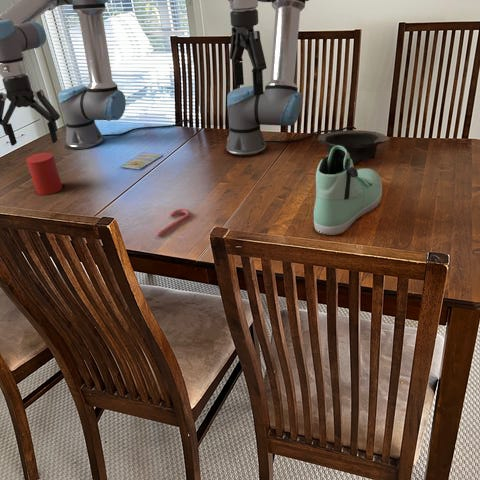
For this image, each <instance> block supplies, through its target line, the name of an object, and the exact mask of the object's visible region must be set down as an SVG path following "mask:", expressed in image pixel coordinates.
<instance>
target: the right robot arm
mask: <svg viewBox="0 0 480 480" xmlns="http://www.w3.org/2000/svg"><path fill="white" fill-rule="evenodd" d="M227 1H228V2H229V9H230V10H231V11H230V13H229V17H230V25H231V37H230V48H229V58H228V59H229V60H231V62H232V65H233V79H234V80H233V81H234V86H235V87H238V86H242V87H238V88H235V89H233V90H231V91H229V92H228V93H227V97H226V103H227V104H226V106H227V117H228V127H229V129H228V130H229V133H228V136H227V139H226V140H227V142H226V146H225V147H226V148H225V149H226V153H227V154H228V155H229V156H232V157H236V158H237V157H239V158H250V157H256V156H258V155H262V154H263V153H264V152H265V151H266V150H267V144H268V143H269V144H270V143H273V144H277V143H278V144H282V143H283V144H285V143H294V142H299V141H304V140H306V139H308V138H310V137H313V136H314V135H316V134H317V135H318V134H324V133H329V132H334V131H345V130H349V129H353V130H356V131H357V128H356V127H355V126H353V125H348V126H345V127H342V128H338V129H325V130H324V129H323V130H318V131H314V132H312V133H310V134H309V135H306V136H303V137H300V138H294V139H287V140H285V139H284V140H265V138H264V136H263V135H264V134H263V133H262V129H261V126H278V127H279V126H280V127H284V126H287V127H288V126H289V127H290V126H293V125H295V124H296V123H297V121H298V120H299V117H300V113H301V109H302V103H303V101H302V100H303V96H302V93H301V92H299V88H298V86H297V84H296V83H295V76H296V75H295V74H296V64H297V53H298V41H299V28H300V18H301V12H302V11H303V10H304V9H305V7H306V2H309V1H310V0H227ZM259 3H271V7H272V8H273V10H274V25H273V39H272V51H271V64H270V75H269V76H270V77H269V82H268V83H267V84H265V86H264V77H263V74H264V73H263V71H264V70H267V63H266V58H265V54H264V50H263V45H262V40H261V33H260V32H261V31H259V30H255V26H257V25H258V24H259V11H258V9H257V8H258V7H259ZM245 51H247V55H248V57H249V60H250V63H251V67H252V69H251V73H252V75H251V76H252V85H248V86H245V81H244V80H245V78H244V64H243V62H244V59H243V55H244V52H245Z"/></svg>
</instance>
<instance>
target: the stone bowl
mask: <svg viewBox="0 0 480 480" xmlns="http://www.w3.org/2000/svg"><path fill="white" fill-rule="evenodd" d="M389 140H390V137H388V136H387V135H385V134H383V133H381V132H377V131H373V130H372V131H371V130H357V129H356V130H355V129H353V130H350V129H345V130H342V131H334V132H324V133H321V134H319V135H318V136H317V140H316V142H319V143H321V144H324V145H325V149H326V152H327V153H328V154H327V155H329V154H330V152H331V149H332V148H333V147H334V146H342V147H344V148H345V149H346V150H347V152H348V153H349V156H350V159H352V161H353V165H354V164H355V165H359V164H362V163H364V161H365V160H372V159H375V158H376V156H377V153H378V146H379V145H381V144H384V143H386V142H388V141H389Z"/></svg>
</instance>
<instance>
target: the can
mask: <svg viewBox="0 0 480 480" xmlns="http://www.w3.org/2000/svg"><path fill="white" fill-rule="evenodd" d="M25 161H26V165H27V167H28V171H29V173H30V177H31V180H32V183H33V187H34V189H35V192H36V194H37V195H40V196H47V195H48V196H49V195H52V194H55V193H57V192H60V191H61V190H62V189H63V184H62V181H61V178H60V173H59V169H58V167H57V163H56V160H55V156H54V154H53V153H51V152H40V153H35V154H32V155H30V156H28V157H27V158H26V160H25Z"/></svg>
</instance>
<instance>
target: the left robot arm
mask: <svg viewBox="0 0 480 480" xmlns="http://www.w3.org/2000/svg"><path fill="white" fill-rule="evenodd" d="M108 2H109V0H17V1H16V2H15V3H13V4H12V5H11V6H10V7H9V8H7V9H5V10H4V11H3V12H2V13H1V14H0V77H2V80H1V81H2V83H3V88H4V90H5V93H4V92H0V125H1V126H2V129H3V132H4V134H5V135H6V136H8V139H9V143H10V146H11V147H14V146H16V145H17V144H18V141H17V138H16V135H15V132H14V128H13V125H12V123H10V120H11V118H12V115H13V114H14V112H15V110H16V108H19V109H20V108H29V107H30V108H31V109H33V110H34V111H35V112H37V113H38V114H39V115H40V116H42V117H43V118H44V119H45V120H46V121H47V123H46V124H47V128H48V132H49V134H50V138H51V143H52V144H55V143H57V142H58V137H57V132H58V126H57V122H56V121H58V120H59V119H60V118H61V115H60V114H59V112H58V111H57V110H56V109H55V107H54V106H53V105H52V103H51V102H50V101H49V100H48V98H47V97H46V95H45V92H44V90H43V89H39V90H37V91H33V89H32V84H31V80H30V77H29V75H28V74H27V73H28V70H27V66H26V63H25V60H24V56H23V53H22V52H26V51H30V50H33V49H38V48H40V47H42V46H43V45H45V42H46V40H47V35H46V31H45V29H44V27H43V26H42V25H41V24H40V23H38V22H36V20H37V19H39V18H40V17H41V16H43V14H45V13H46V12H47V11H53V10H55V9H56V8H57V7H60V6H61V7H62V6H69V5H70V6H71V5H72V10H73V11H74V12H75V13H76V14H77V15H78V19H79V25H80V31H81V37H82V42H83V43H82V44H83V49H84V55H85V61H86V65H87V72H88V77H89V81H90V82H89V83H88V85H87V86H86V85H85V84H83V85H76V86H72V87H69V88H66V89H63V90H61V91H60V92H59V93H58V100H59V105H60V108H61V113H62V116H63V119H64V123H65V126H66V133H65V144H66V148H68V149H70V150H85V149H92V148H94V147H97V146H99V145H102V143H104V138H105V137H120V136H121V137H122V136H124V135H127V134H129V133H131V132H134V131H139V130H147V129H163V128H165V129H167V128H173V127H178V126H180V125H181V124H183V123H184V122H187V123H191V120H190V119H188V118H184V119H182V120H180V122H178V123H175V124H170V125H154V126H153V125H151V126H140V127H135V128H131V129H129V130H126V131H124V132H121V133H110V134H102V132H101V130H100V129H99V127H98V125H97V124H96V121H107V122H111V121H118V120H120V119H121V118H122V117H123V115H124V114H125V111H126V105H127V103H126V102H127V100H126V96H125V94H124V92H123V91H122V90H121V89H118V87H119V86H118V84H117V83H116V82H115V81H114V80H113V75H112V68H111V67H112V66H111V62H110V56H109V50H108V49H109V48H108V42H107V41H108V40H107V35H106V30H105V29H106V28H105V22H104V15H103V14H104V12H105V10H106V8H107V7H106V4H107V3H108ZM34 98H36V99H37V100H39V102H40V103H41V104H42V105H41V104H40V103H39V102H38V101H37V100H35V99H34ZM6 100H8V101H9V102H10V103H9V105H8V108H7V110H6V112H5V105H6ZM4 112H5V114H4Z"/></svg>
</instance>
